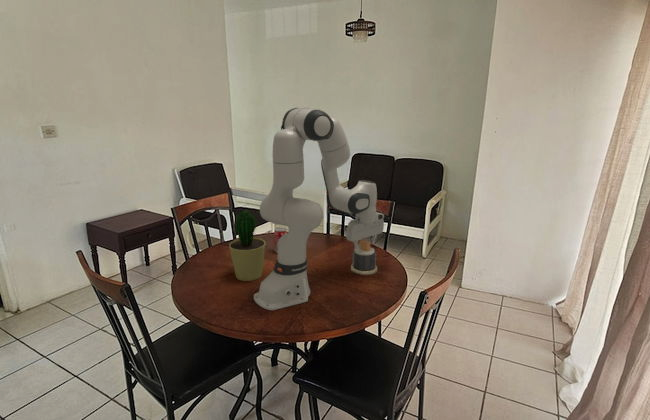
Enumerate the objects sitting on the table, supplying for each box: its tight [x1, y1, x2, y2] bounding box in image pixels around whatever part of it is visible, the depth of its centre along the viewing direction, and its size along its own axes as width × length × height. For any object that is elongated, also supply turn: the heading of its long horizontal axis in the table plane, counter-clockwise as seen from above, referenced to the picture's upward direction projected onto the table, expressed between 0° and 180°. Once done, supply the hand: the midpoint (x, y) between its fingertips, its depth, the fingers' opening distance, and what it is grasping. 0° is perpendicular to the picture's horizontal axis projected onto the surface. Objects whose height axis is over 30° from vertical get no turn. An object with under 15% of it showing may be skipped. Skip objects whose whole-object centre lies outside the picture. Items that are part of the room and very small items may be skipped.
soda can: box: [273, 227, 288, 253], centre depth 187 cm, size 7×7×12 cm
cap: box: [353, 238, 376, 256], centre depth 165 cm, size 9×9×8 cm
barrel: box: [350, 250, 378, 276], centre depth 167 cm, size 12×12×8 cm
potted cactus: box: [228, 210, 267, 282], centre depth 157 cm, size 15×15×30 cm
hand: (364, 246), depth 165 cm, fingers open, 8 cm apart
